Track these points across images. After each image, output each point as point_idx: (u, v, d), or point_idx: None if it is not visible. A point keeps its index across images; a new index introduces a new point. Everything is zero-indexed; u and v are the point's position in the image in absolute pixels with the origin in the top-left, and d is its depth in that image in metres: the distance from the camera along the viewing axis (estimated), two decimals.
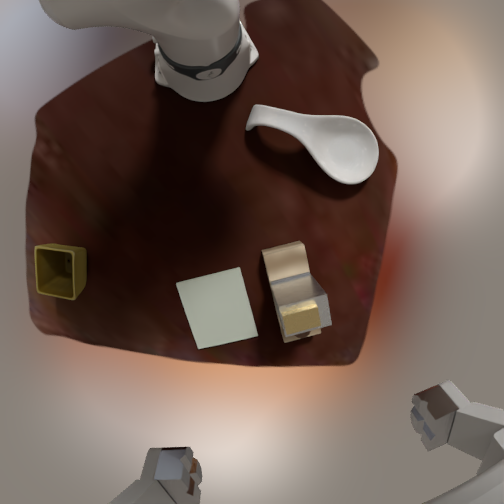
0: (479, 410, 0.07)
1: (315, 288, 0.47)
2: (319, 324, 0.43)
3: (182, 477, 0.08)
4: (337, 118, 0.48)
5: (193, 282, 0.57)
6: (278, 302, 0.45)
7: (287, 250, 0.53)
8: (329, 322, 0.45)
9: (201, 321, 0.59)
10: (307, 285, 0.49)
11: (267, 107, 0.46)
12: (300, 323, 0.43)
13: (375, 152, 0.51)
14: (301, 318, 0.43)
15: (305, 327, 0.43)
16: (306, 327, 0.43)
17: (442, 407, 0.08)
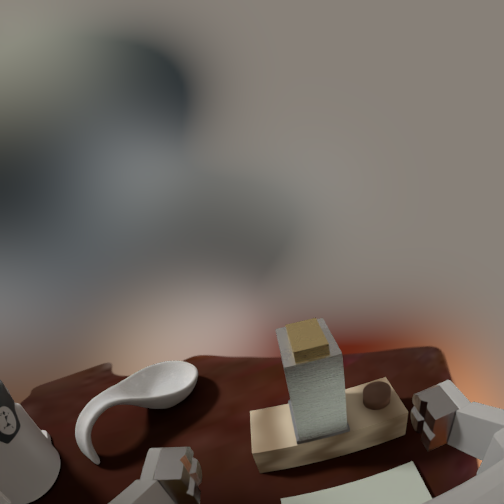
0: (479, 410, 0.07)
1: None
2: (313, 319, 0.30)
3: (182, 477, 0.08)
4: (126, 380, 0.45)
5: None
6: (286, 380, 0.26)
7: (252, 427, 0.32)
8: (319, 320, 0.32)
9: None
10: None
11: (77, 420, 0.34)
12: (309, 334, 0.27)
13: (176, 363, 0.51)
14: (300, 335, 0.27)
15: (316, 329, 0.28)
16: (317, 328, 0.28)
17: (442, 407, 0.08)
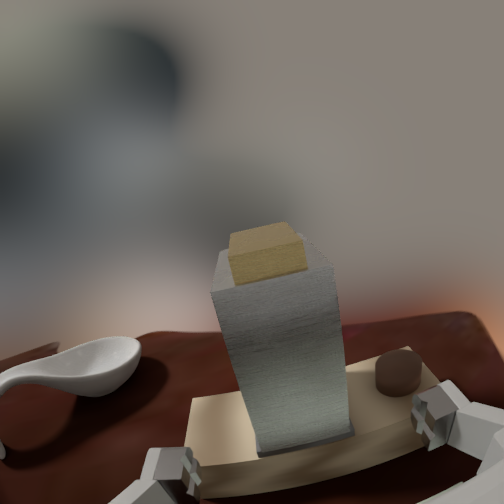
0: (478, 410, 0.07)
1: None
2: (280, 222, 0.17)
3: (182, 477, 0.08)
4: (54, 357, 0.32)
5: None
6: (220, 323, 0.13)
7: (190, 424, 0.19)
8: None
9: None
10: None
11: None
12: (267, 236, 0.15)
13: (120, 339, 0.38)
14: (251, 238, 0.15)
15: (282, 230, 0.15)
16: (283, 229, 0.15)
17: (442, 407, 0.08)
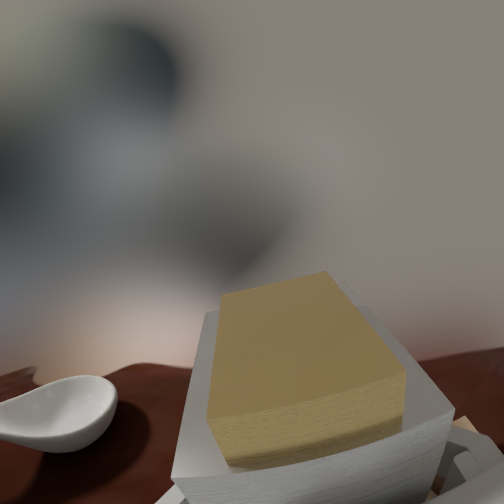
0: None
1: None
2: (319, 275, 0.09)
3: None
4: (19, 399, 0.23)
5: None
6: None
7: None
8: None
9: None
10: None
11: None
12: (301, 327, 0.06)
13: (95, 380, 0.29)
14: (266, 328, 0.06)
15: (331, 305, 0.07)
16: (334, 302, 0.07)
17: None
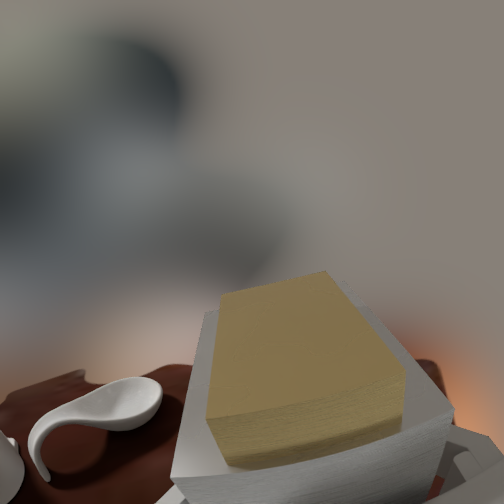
0: None
1: None
2: (318, 275, 0.09)
3: None
4: (88, 396, 0.38)
5: None
6: None
7: None
8: None
9: None
10: None
11: (29, 435, 0.28)
12: (301, 327, 0.06)
13: (144, 380, 0.44)
14: (265, 328, 0.06)
15: (330, 305, 0.07)
16: (333, 302, 0.07)
17: None
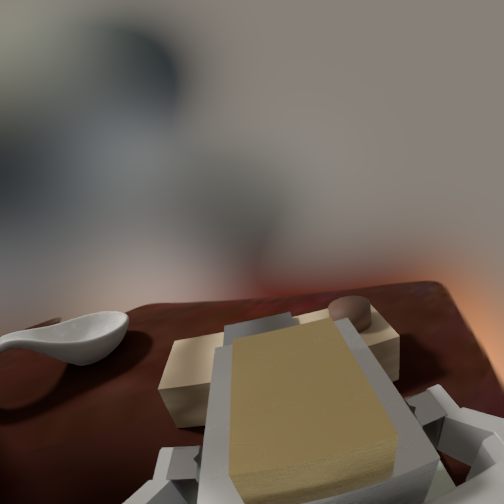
0: (468, 416, 0.07)
1: None
2: (324, 321, 0.09)
3: (196, 476, 0.08)
4: (49, 327, 0.35)
5: None
6: None
7: (170, 358, 0.24)
8: (338, 324, 0.11)
9: None
10: None
11: None
12: (308, 384, 0.06)
13: (112, 313, 0.40)
14: (276, 383, 0.07)
15: (335, 361, 0.07)
16: (338, 356, 0.07)
17: (430, 412, 0.08)
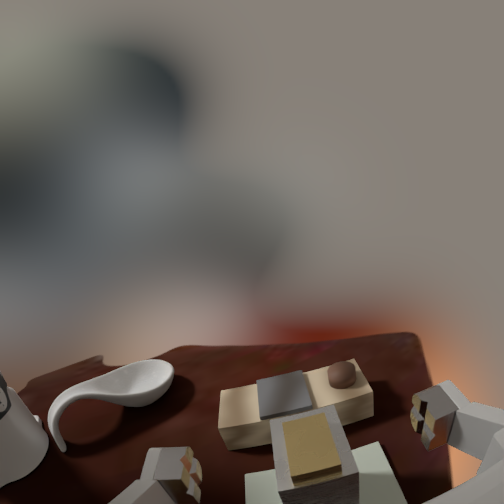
0: (479, 410, 0.07)
1: None
2: (321, 415, 0.19)
3: (182, 477, 0.08)
4: (106, 375, 0.45)
5: None
6: (281, 499, 0.15)
7: (221, 405, 0.34)
8: (328, 408, 0.21)
9: None
10: None
11: (50, 409, 0.34)
12: (314, 445, 0.17)
13: (158, 362, 0.49)
14: (302, 444, 0.17)
15: (324, 435, 0.17)
16: (325, 433, 0.17)
17: (442, 407, 0.08)
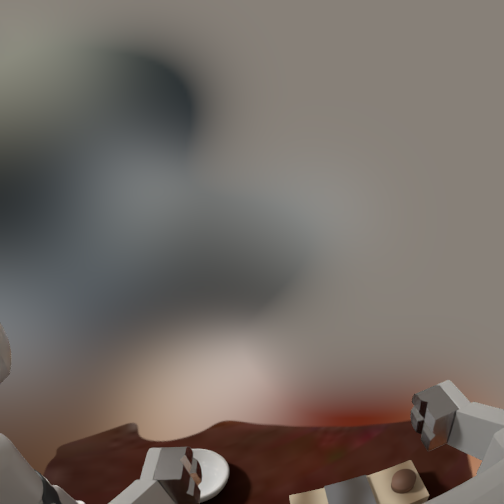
0: (479, 410, 0.07)
1: None
2: None
3: (182, 477, 0.08)
4: None
5: None
6: None
7: None
8: None
9: None
10: None
11: None
12: None
13: (208, 453, 0.44)
14: None
15: None
16: None
17: (442, 407, 0.08)
